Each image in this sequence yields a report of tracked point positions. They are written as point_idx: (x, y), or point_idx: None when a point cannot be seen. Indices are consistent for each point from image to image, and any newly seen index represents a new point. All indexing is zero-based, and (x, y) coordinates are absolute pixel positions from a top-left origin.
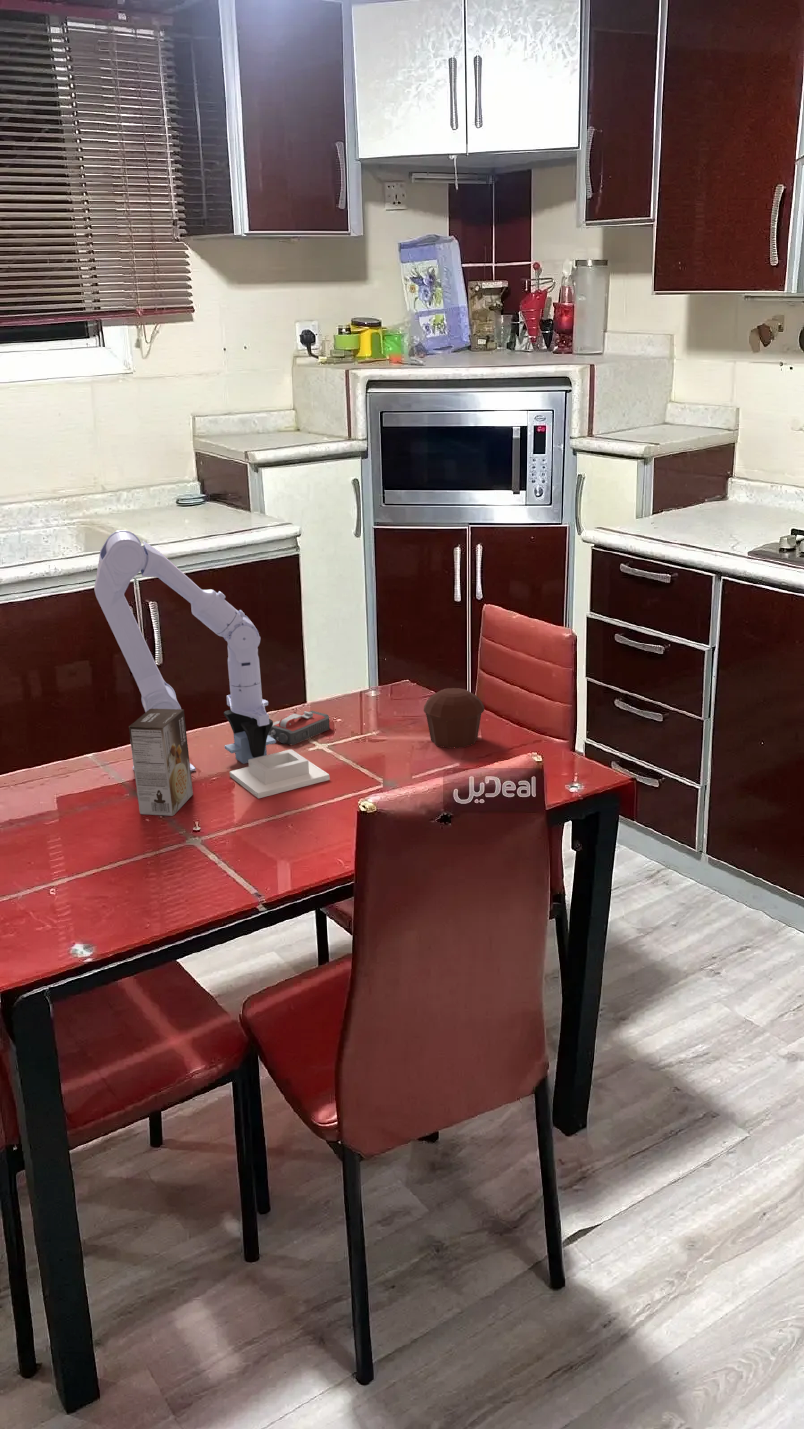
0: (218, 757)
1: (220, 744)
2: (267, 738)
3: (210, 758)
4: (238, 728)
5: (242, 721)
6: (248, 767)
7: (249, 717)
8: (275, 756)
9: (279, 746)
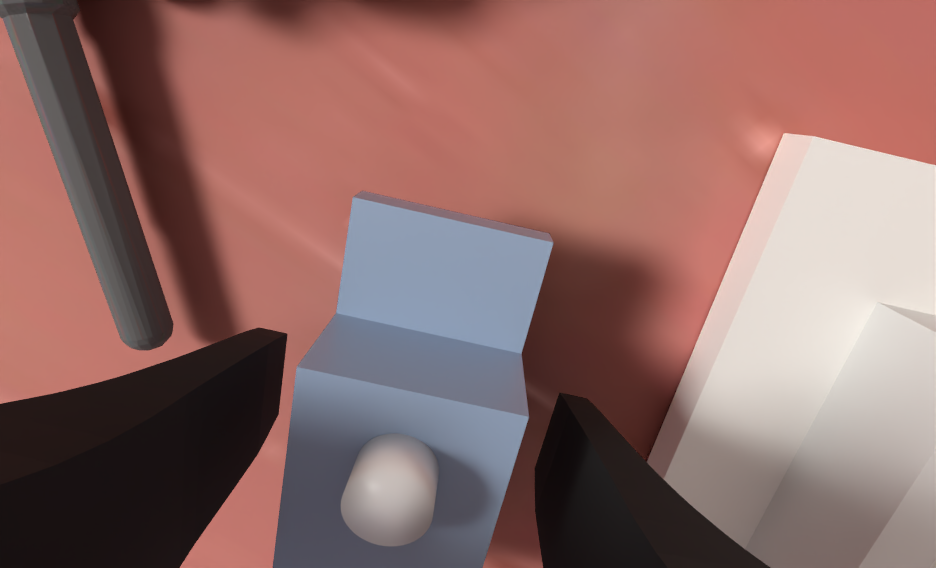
0: (246, 495)
1: (11, 349)
2: (442, 274)
3: (227, 531)
4: (168, 540)
5: (114, 565)
6: None
7: (77, 497)
8: (932, 551)
9: (378, 38)
